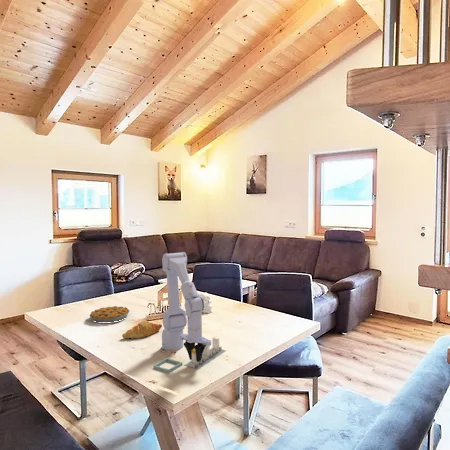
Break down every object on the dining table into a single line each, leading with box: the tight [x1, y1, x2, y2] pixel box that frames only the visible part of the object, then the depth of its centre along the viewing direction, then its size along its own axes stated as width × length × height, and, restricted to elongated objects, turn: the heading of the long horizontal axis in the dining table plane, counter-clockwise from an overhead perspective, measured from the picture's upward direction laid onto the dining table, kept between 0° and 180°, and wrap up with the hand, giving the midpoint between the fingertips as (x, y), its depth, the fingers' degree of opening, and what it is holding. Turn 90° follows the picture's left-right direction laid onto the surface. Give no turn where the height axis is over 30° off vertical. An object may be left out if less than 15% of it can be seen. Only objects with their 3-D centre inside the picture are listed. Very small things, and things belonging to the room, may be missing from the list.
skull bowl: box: [199, 292, 214, 314], centre depth 223 cm, size 10×14×12 cm
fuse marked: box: [191, 349, 199, 366], centre depth 147 cm, size 3×3×6 cm
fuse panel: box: [184, 345, 227, 370], centre depth 153 cm, size 7×21×2 cm, turn 148°
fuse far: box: [211, 336, 220, 353], centre depth 159 cm, size 3×3×6 cm
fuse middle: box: [203, 345, 211, 359], centre depth 153 cm, size 3×3×6 cm
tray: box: [152, 357, 183, 374], centre depth 146 cm, size 8×8×2 cm
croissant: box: [121, 320, 163, 339], centre depth 183 cm, size 21×10×8 cm, turn 128°
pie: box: [89, 305, 130, 323], centre depth 210 cm, size 22×22×5 cm
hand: (195, 359), depth 147 cm, fingers closed on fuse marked, 3 cm apart
